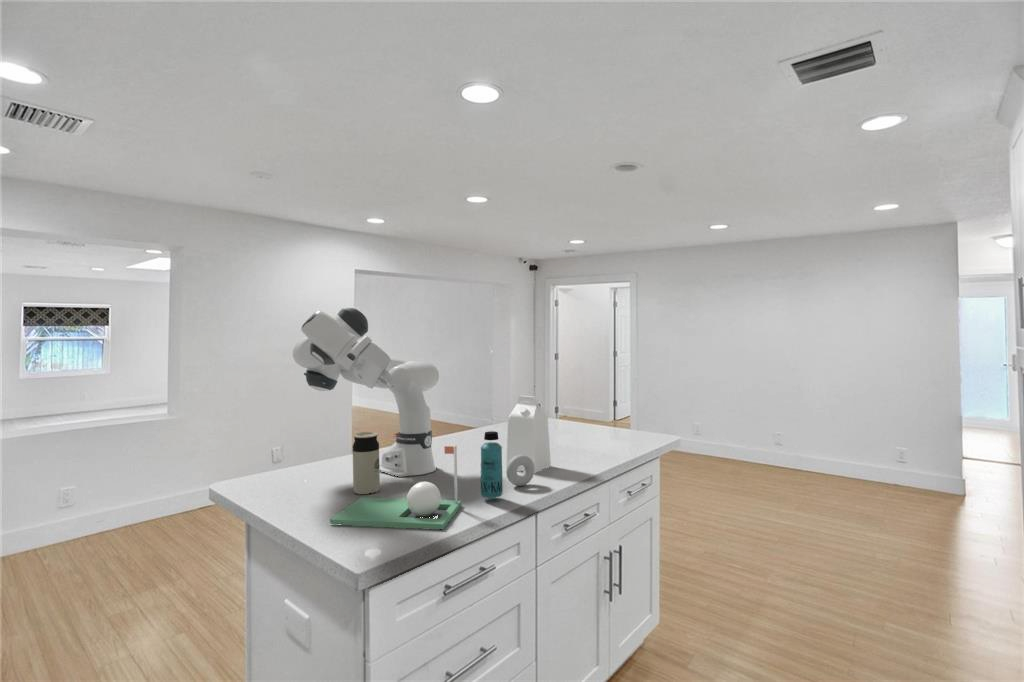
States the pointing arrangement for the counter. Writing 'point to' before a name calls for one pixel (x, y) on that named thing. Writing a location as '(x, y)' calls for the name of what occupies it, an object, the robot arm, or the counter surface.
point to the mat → (398, 510)
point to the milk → (528, 433)
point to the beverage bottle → (491, 467)
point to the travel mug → (366, 463)
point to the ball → (423, 499)
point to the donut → (513, 466)
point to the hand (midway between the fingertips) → (394, 385)
